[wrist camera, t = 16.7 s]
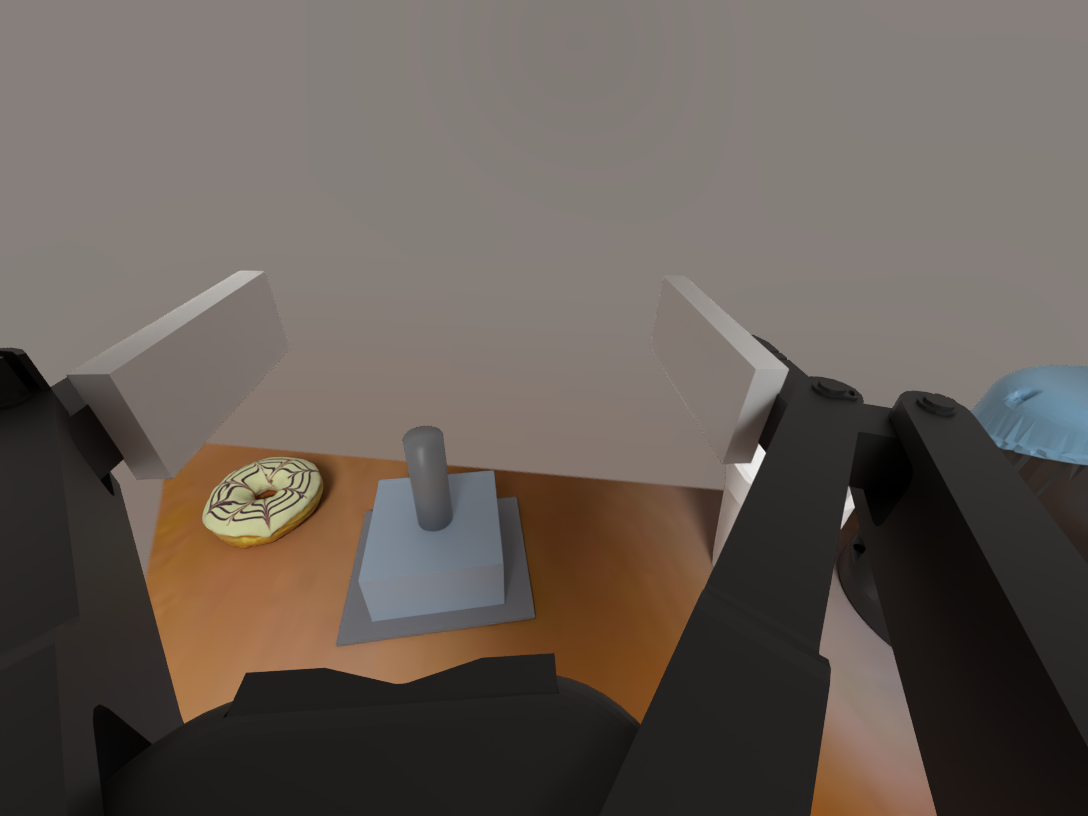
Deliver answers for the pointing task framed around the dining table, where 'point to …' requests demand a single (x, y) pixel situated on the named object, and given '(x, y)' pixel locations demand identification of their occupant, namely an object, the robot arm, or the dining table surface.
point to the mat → (516, 608)
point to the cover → (432, 537)
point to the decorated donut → (263, 501)
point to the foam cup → (736, 492)
